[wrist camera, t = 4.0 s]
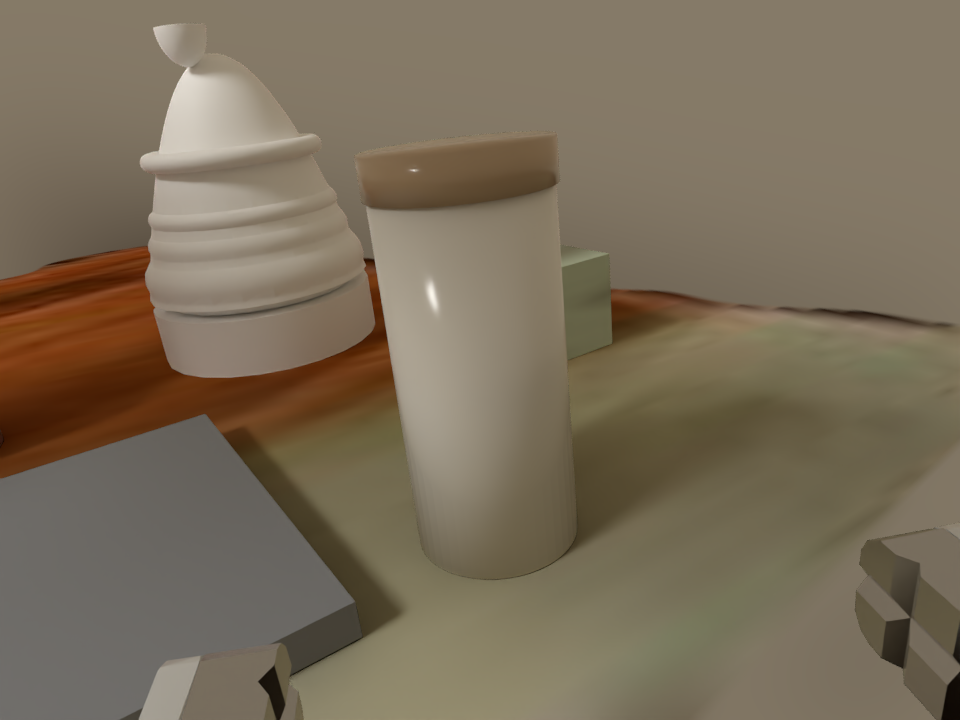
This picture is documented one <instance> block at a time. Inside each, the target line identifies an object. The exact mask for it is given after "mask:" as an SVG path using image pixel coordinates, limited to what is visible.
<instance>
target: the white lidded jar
mask: <svg viewBox="0 0 960 720" xmlns="http://www.w3.org/2000/svg"><path fill="white" fill-rule="evenodd" d="M354 158H355V165H356V171H357V177H358V183H359V189H360V195H361V201H362V204H364V205H366V209H367V215H368V221H369V227H370V234H371V240H372V246H373V252H374V259H375V265H376V271H377V277H378V283H379V290H380V296H381V302H382V308H383V314H384V320H385V327H386V333H387V339H388V345H389V351H390V358H391V364H392V370H393V376H394V382H395V389H396V395H397V401H398V407H399V413H400V420H401V426H402V432H403V438H404V444H405V450H406V457H407V463H408V469H409V475H410V481H411V488H412V494H413V500H414V506H415V512H416V519H417V525H418V531H419V537H420V543H421V546H422V549H423V551H424V553H425V555H426V556H427V557H428V558H429V559H430V561H432V562H433V563H434V564H435V565H437V566H438V567H440V568H442V569H443V570H445V571H448V572H450V573H452V574H456V575H459V576H463V577H468V578H474V579H505V578H511V577H517V576H521V575H525V574H529V573H531V572H534V571H537V570H539V569H541V568H543V567H545V566H548V565H549V564H551V563H552V562H554V561H556V560H557V559H558V558H560V557H561V556H562V555H563V554H564V553H565V552H566V551H567V550H568V549H569V548H570V546H571V545H572V543H573V542H574V539H575V537H576V534H577V509H576V492H575V476H574V460H573V444H572V428H571V412H570V396H569V379H568V363H567V347H566V331H565V315H564V299H563V282H562V266H561V250H560V234H559V218H558V202H557V186H556V184H558V183H559V181H560V173H559V157H558V140H557V133H556V132H551V131H522V132H504V133H492V134H480V135H469V136H460V137H450V138H442V139H434V140H426V141H419V142H413V143H406V144H399V145H393V146H388V147H382V148H377V149H373V150H368V151H364V152H360V153H358V154H356V155H354Z"/></svg>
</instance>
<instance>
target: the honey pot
mask: <svg viewBox="0 0 960 720" xmlns="http://www.w3.org/2000/svg"><path fill="white" fill-rule="evenodd" d="M153 30H154V33H155V36H156V38H157V41H158V43H159V45H160V47H161V48H162V50H163V51H164V53H165V54H166V55H167V56H168V57H169V58H170V59H171V60H172V61H173V62H175V63H176V64H178V65H181V66H183V67H188V68H187V69H186V71H185V72H184V73H183V75H182V77H181V79H180V80H179V82H178V84H177V86H176V89H175V91H174V93H173V96H172V99H171V102H170V105H169V108H168V112H167V115H166V119H165V123H164V128H163V133H162V137H161V143H160V149H159V151H156V152H151V153H148V154H145V155H143V156H142V157H141V159H140V166H141V168H142V169H143V170H144V171H146V172H148V173H151V174H156V179H155V190H154V200H153V212H152V213H151V214H150V215H149V217H148V223H149V225H150V226H151V227H152V234H151V238H150V240H149V243H148V250H149V252H150V254H151V262H150V264H149V266H148V268H147V271H146V273H145V280H146V286H147V288H148V290H149V292H150V301H151V302H152V304H153V305H154V307H155V309H154V311H153V312H154V315H155V318H156V322H157V325H158V329H159V332H160V336H161V339H162V343H163V346H164V350H165V353H166V357H167V360H168V362H169V364H170V366H171V368H172V369H174V370H176V371H178V372H180V373H182V374H185V375H191V376H198V377H204V378H232V377H242V376H251V375H261V374H266V373H271V372H276V371H282V370H287V369H292V368H295V367H299V366H302V365H306V364H309V363H313V362H316V361H320V360H322V359H325V358H327V357H330V356H333V355H335V354H338V353H340V352H343V351H345V350H347V349H348V348H350V347H352V346H354V345H356V344H357V343H359V342H361V341H362V340H363V339H364V338H366V337H367V336H368V335H369V334H370V333H371V332H372V331H373V328H374V325H375V318H374V312H373V306H372V300H371V294H370V287H369V281H368V275H367V274H366V272H365V270H364V268H365V266H366V265H365V262H364V260H363V248H362V245H361V243H360V240H359V239H358V237H357V236H356V235H355V234H354V233H353V232H352V231H351V230H350V229H349V227H348V220H347V217H346V215H345V213H344V212H343V211H342V210H341V209H340V208H339V206H338V204H337V202H336V200H337V195H336V192H335V191H334V190H333V189H332V188H331V187H330V186H328V184H327V182H326V181H325V179H324V177H323V175H322V173H321V171H320V169H319V167H318V166H317V164H316V162H315V160H314V158H313V157H312V155H311V154H313V153H315V152H318V151H319V150H320V148H321V146H322V142H321V139H320V138H319V137H318V136H317V135H315V134H308V133H307V134H306V133H305V134H299V133H298V131H297V130H296V128H295V127H294V125H293V123H292V122H291V120H290V119H289V117H288V116H287V115H286V113H285V112H284V110H283V109H282V107H281V106H280V105H279V103H278V102H277V101H276V99H275V98H274V97H273V95H272V94H271V93H270V92H269V90H268V89H267V88H266V87H265V86H264V84H263V83H262V82H261V81H259V79H258V78H257V77H256V76H255V75H254V74H253V73H252V72H250V71H249V70H248V69H247V68H246V67H245V66H243V65H242V64H241V63H239V62H238V61H236V60H234V59H233V58H231V57H229V56H226V55H222V54H216V53H211V54H204V53H205V49H206V44H207V32H206V26H205V24H201V23H186V24H172V25H164V26H158V27H154V28H153Z"/></svg>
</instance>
